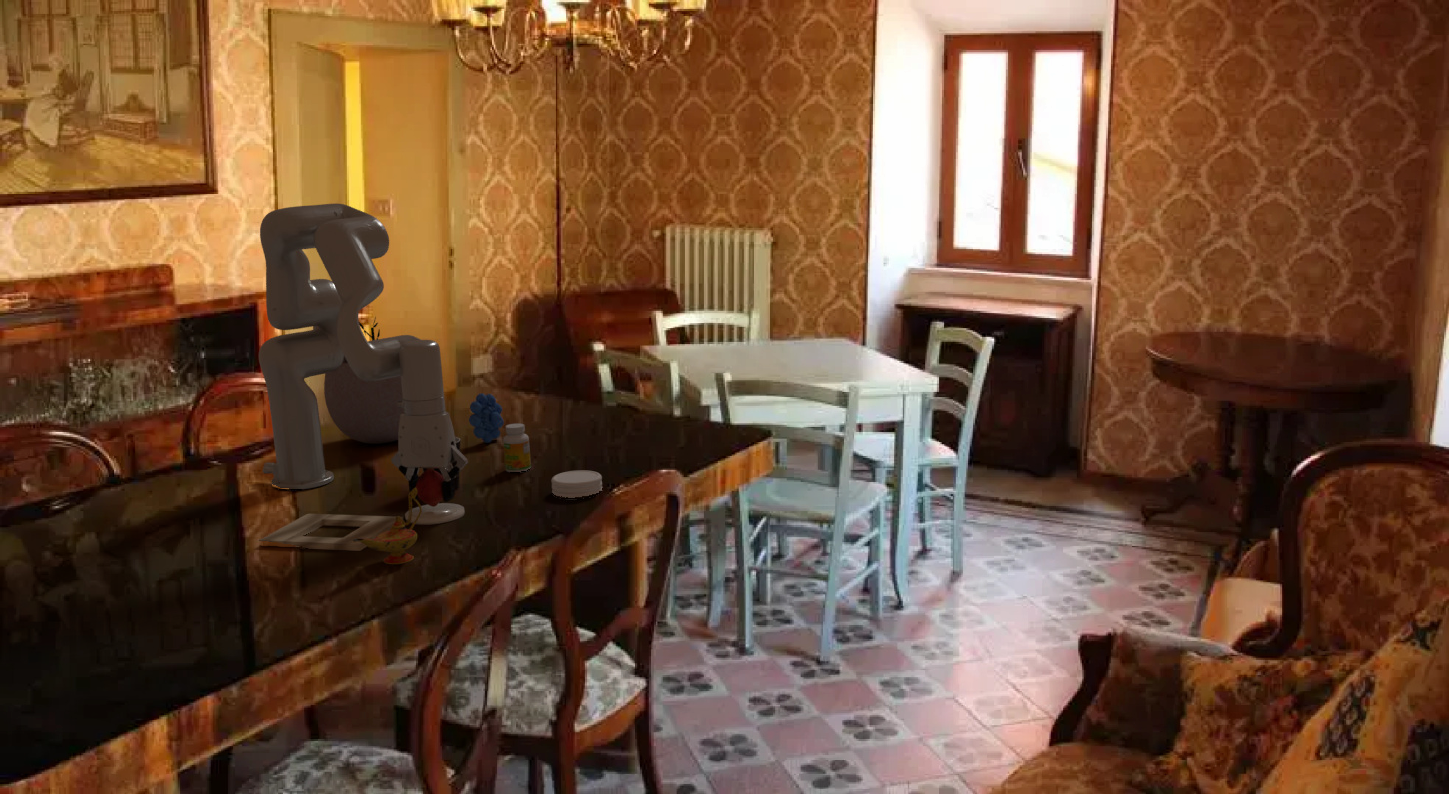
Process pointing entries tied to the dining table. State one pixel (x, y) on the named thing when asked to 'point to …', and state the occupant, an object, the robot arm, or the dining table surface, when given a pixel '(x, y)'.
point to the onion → (430, 487)
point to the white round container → (576, 483)
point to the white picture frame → (311, 522)
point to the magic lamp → (396, 538)
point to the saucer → (436, 513)
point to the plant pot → (364, 403)
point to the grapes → (486, 417)
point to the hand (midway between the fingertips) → (432, 498)
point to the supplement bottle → (516, 449)
